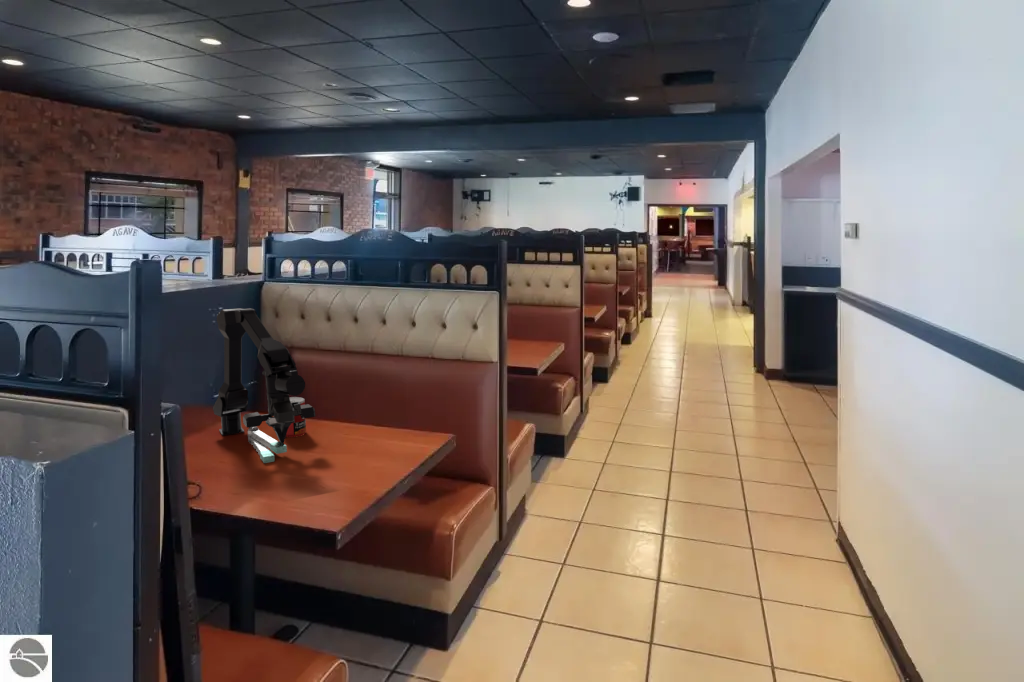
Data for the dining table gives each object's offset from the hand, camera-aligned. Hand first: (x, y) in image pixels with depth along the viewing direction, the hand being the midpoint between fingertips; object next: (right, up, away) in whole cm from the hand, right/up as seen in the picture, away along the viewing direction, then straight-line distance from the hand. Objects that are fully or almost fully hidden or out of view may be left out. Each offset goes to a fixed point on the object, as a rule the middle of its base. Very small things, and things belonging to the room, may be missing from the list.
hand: (282, 444), depth 183 cm
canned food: (-3, 0, +18) cm, 19 cm away
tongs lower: (-7, -2, +2) cm, 8 cm away
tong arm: (-6, 0, +3) cm, 6 cm away
